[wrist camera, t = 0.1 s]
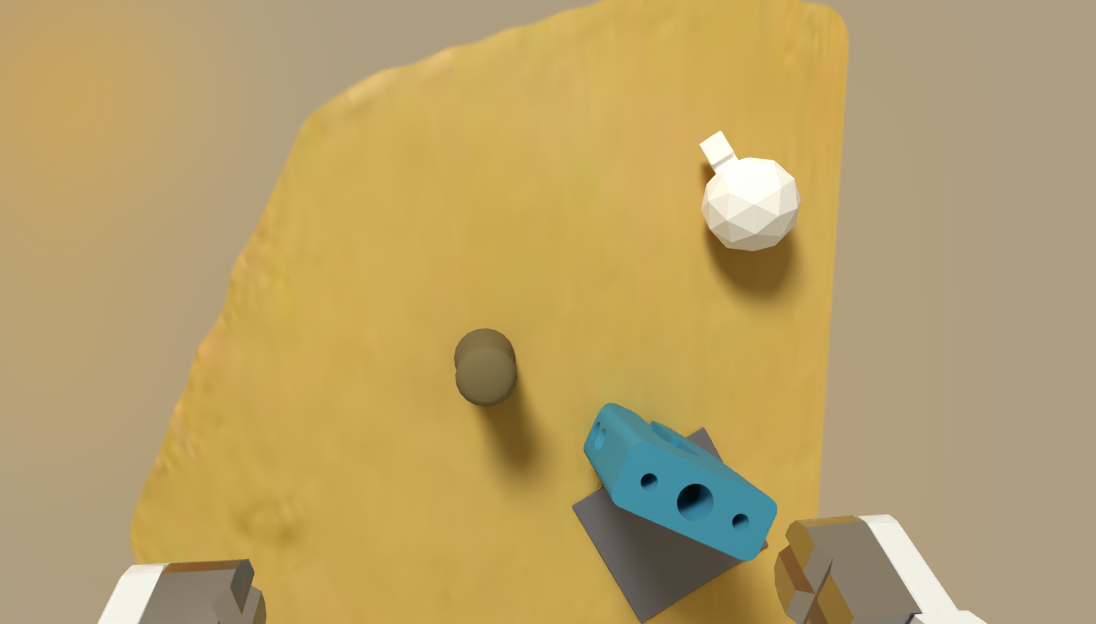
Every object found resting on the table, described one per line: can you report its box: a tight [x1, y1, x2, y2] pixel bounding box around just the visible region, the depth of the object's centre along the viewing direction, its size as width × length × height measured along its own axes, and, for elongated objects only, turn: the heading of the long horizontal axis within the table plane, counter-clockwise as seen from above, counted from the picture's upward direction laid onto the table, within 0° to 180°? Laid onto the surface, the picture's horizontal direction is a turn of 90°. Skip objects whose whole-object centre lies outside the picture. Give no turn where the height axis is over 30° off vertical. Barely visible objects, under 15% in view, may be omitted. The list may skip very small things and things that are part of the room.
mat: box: [572, 428, 768, 623], centre depth 68 cm, size 15×16×1 cm
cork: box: [454, 329, 517, 407], centre depth 59 cm, size 6×6×11 cm
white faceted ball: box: [699, 131, 801, 251], centre depth 61 cm, size 9×9×12 cm
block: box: [584, 403, 777, 561], centre depth 56 cm, size 12×5×20 cm, turn 65°
